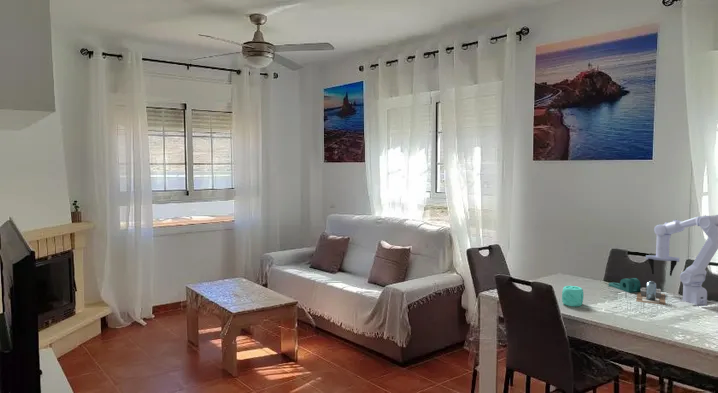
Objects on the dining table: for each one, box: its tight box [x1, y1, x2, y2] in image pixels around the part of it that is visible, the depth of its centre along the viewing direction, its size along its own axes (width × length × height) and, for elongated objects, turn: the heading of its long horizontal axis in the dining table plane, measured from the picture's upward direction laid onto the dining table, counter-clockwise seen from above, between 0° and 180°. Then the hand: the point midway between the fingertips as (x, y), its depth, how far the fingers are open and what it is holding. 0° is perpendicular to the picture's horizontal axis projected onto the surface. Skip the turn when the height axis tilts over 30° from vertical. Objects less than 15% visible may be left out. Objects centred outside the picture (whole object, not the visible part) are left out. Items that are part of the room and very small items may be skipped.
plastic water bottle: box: [645, 280, 657, 301], centre depth 244 cm, size 4×4×9 cm
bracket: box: [608, 277, 642, 294], centre depth 268 cm, size 18×7×8 cm, turn 10°
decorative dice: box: [561, 285, 584, 308], centre depth 242 cm, size 8×8×8 cm
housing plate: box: [635, 286, 666, 306], centre depth 249 cm, size 22×12×4 cm, turn 150°
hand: (661, 274), depth 258 cm, fingers open, 7 cm apart
